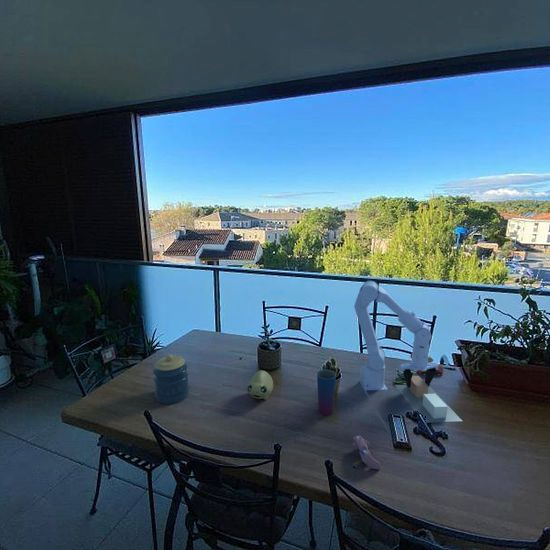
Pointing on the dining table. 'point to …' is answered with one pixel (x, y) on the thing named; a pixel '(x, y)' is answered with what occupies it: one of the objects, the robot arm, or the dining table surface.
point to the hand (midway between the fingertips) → (417, 385)
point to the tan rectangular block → (418, 386)
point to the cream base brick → (434, 406)
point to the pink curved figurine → (365, 452)
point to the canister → (171, 379)
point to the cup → (326, 391)
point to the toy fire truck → (439, 371)
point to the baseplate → (417, 406)
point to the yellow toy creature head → (260, 385)
